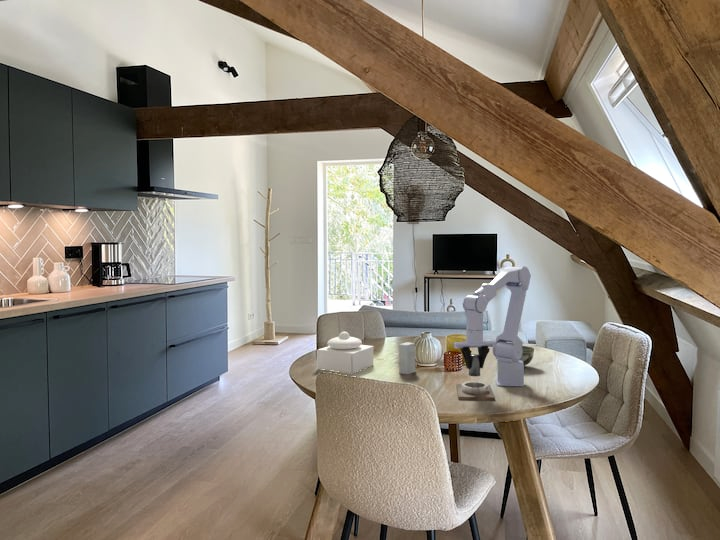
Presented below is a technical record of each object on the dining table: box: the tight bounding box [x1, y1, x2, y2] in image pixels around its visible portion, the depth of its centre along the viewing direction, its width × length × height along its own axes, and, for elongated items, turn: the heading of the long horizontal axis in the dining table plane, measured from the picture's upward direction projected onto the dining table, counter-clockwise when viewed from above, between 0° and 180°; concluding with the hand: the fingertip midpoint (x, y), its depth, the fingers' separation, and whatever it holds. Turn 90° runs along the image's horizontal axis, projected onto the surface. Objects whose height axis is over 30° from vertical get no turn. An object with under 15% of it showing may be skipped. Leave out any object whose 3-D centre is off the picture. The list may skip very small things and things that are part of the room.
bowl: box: [519, 345, 535, 369], centre depth 226 cm, size 14×13×8 cm
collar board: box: [455, 381, 496, 401], centre depth 188 cm, size 12×16×3 cm
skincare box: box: [398, 341, 416, 376], centre depth 219 cm, size 6×4×12 cm
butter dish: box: [316, 331, 375, 375], centre depth 229 cm, size 18×18×16 cm
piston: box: [468, 353, 481, 377], centre depth 188 cm, size 4×4×7 cm
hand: (474, 368), depth 187 cm, fingers closed on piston, 4 cm apart
